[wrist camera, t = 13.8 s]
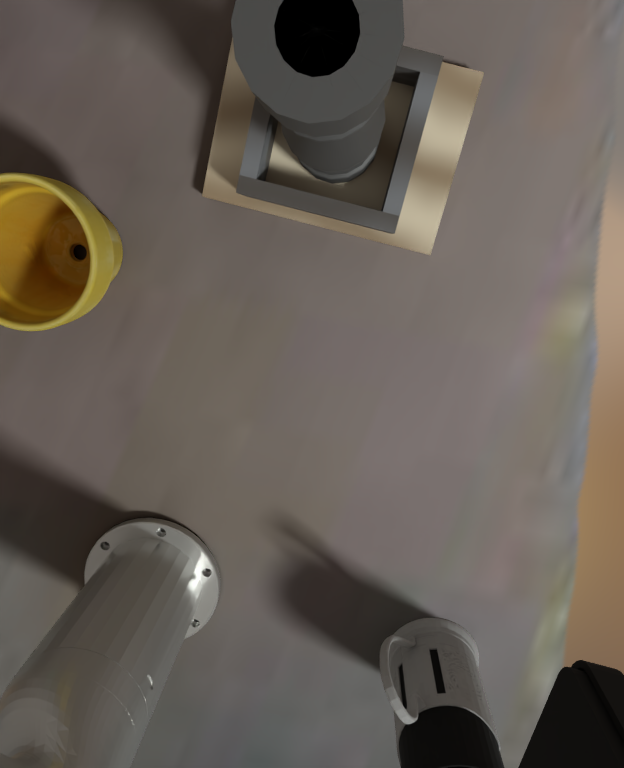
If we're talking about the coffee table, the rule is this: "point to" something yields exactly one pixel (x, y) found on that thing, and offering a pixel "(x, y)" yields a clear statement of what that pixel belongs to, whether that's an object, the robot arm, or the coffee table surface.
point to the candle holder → (322, 75)
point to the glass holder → (438, 697)
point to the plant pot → (51, 253)
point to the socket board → (379, 181)
